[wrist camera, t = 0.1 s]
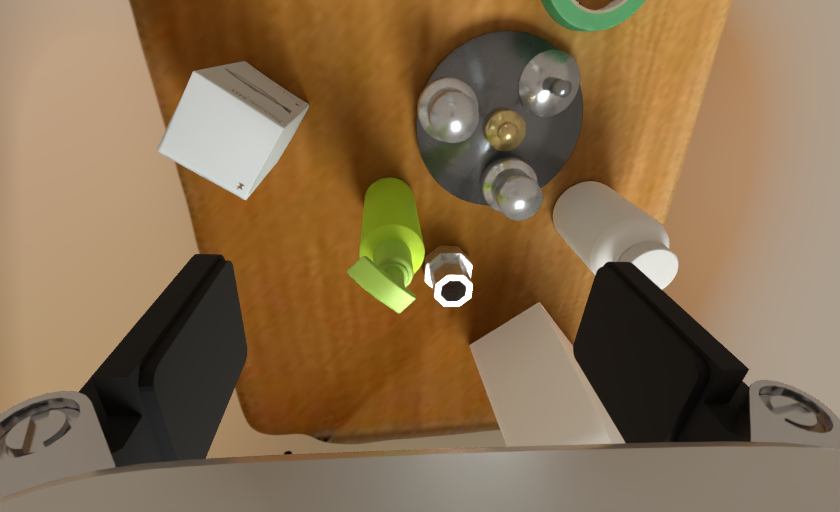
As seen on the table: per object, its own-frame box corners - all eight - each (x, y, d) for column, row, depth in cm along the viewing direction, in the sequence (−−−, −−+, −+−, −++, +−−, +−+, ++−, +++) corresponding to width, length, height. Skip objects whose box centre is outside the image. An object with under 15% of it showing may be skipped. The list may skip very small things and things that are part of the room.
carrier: (420, 24, 39) (428, 23, 33) (597, 37, 41) (636, 38, 35) (410, 199, 48) (415, 225, 42) (557, 204, 50) (582, 228, 44)
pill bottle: (554, 246, 53) (611, 316, 40) (547, 189, 49) (608, 247, 36) (614, 229, 52) (692, 295, 39) (612, 171, 49) (698, 222, 35)
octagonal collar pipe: (425, 245, 51) (430, 269, 46) (470, 246, 52) (481, 270, 47) (422, 284, 54) (427, 311, 49) (465, 284, 55) (474, 311, 49)
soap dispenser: (381, 160, 46) (381, 240, 28) (424, 200, 48) (449, 295, 31) (347, 196, 47) (327, 293, 30) (390, 233, 50) (396, 341, 33)
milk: (539, 301, 57) (644, 479, 34) (575, 348, 62) (687, 531, 39) (469, 345, 60) (523, 536, 37) (508, 387, 65) (577, 578, 42)
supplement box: (312, 104, 42) (288, 129, 31) (278, 162, 45) (245, 204, 34) (244, 57, 40) (192, 67, 29) (212, 121, 42) (153, 153, 31)
